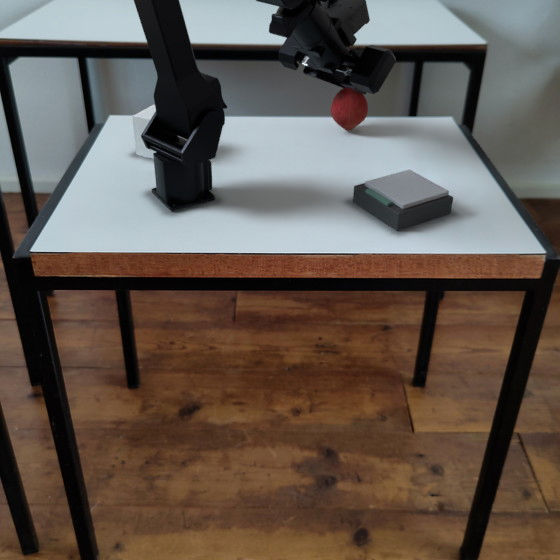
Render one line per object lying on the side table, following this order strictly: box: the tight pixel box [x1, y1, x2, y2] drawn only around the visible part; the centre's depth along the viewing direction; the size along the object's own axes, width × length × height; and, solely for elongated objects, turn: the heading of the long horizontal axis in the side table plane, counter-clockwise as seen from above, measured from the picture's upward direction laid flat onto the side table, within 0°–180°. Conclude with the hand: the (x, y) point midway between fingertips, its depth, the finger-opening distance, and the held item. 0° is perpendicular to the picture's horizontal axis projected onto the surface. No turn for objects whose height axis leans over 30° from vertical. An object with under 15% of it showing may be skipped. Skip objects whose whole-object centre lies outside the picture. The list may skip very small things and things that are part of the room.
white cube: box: [131, 103, 187, 160], centre depth 102 cm, size 6×6×6 cm
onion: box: [330, 87, 369, 132], centre depth 110 cm, size 6×6×8 cm
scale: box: [352, 169, 454, 232], centre depth 89 cm, size 9×9×3 cm
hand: (356, 88), depth 109 cm, fingers open, 4 cm apart
